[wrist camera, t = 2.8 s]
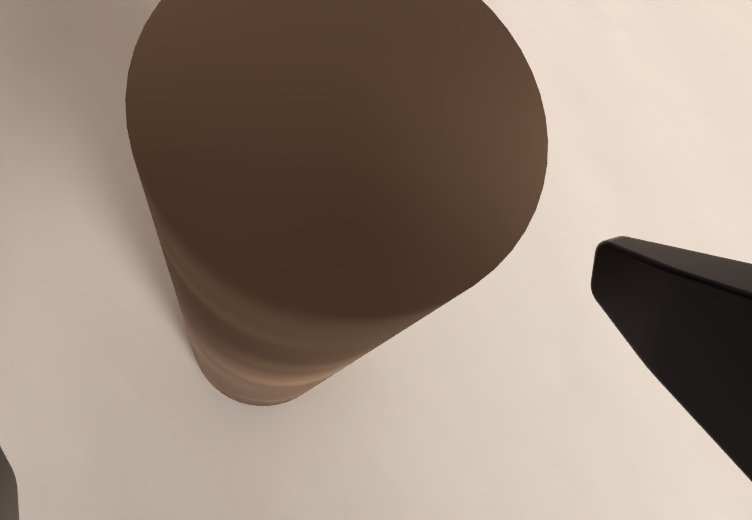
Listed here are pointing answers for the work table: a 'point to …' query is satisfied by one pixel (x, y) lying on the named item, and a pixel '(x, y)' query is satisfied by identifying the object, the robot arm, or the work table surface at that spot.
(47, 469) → the work table surface
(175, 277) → the pin
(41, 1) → the work table surface
